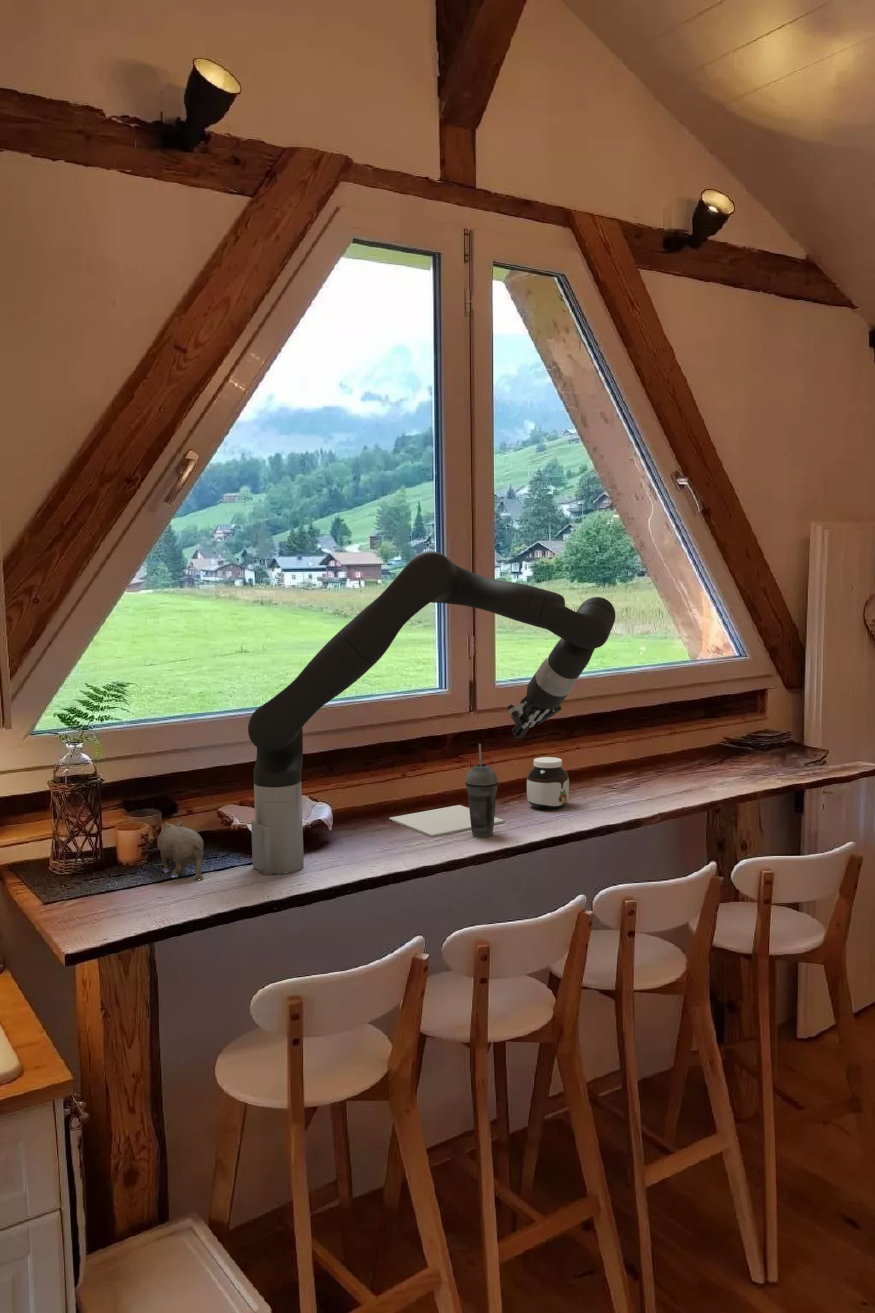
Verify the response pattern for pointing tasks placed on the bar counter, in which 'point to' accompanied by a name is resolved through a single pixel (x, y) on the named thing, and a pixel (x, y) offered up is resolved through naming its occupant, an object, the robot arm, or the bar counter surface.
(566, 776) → the spread jar
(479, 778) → the beverage cup
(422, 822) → the white flat panel
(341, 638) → the robot arm
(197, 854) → the elephant figurine
